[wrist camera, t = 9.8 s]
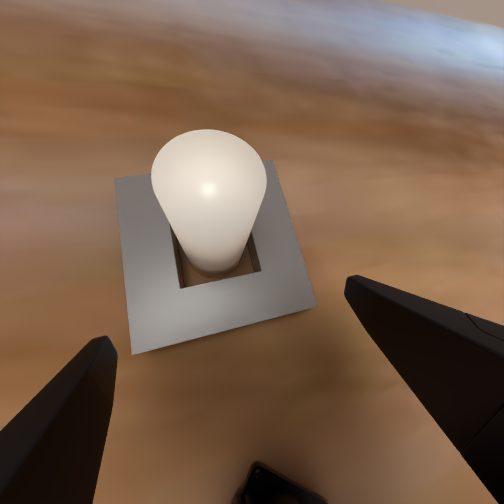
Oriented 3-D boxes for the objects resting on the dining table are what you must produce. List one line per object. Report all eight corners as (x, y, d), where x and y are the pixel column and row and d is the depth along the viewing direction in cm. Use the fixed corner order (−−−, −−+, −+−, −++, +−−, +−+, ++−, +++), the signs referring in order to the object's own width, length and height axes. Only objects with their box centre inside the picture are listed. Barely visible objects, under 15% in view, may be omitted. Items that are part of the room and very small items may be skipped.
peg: (250, 263, 22) (286, 200, 10) (202, 287, 20) (181, 247, 9) (226, 219, 22) (234, 117, 11) (178, 240, 21) (132, 149, 10)
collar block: (304, 308, 21) (317, 306, 18) (145, 349, 18) (131, 355, 15) (266, 178, 24) (272, 160, 22) (127, 196, 22) (114, 178, 19)
